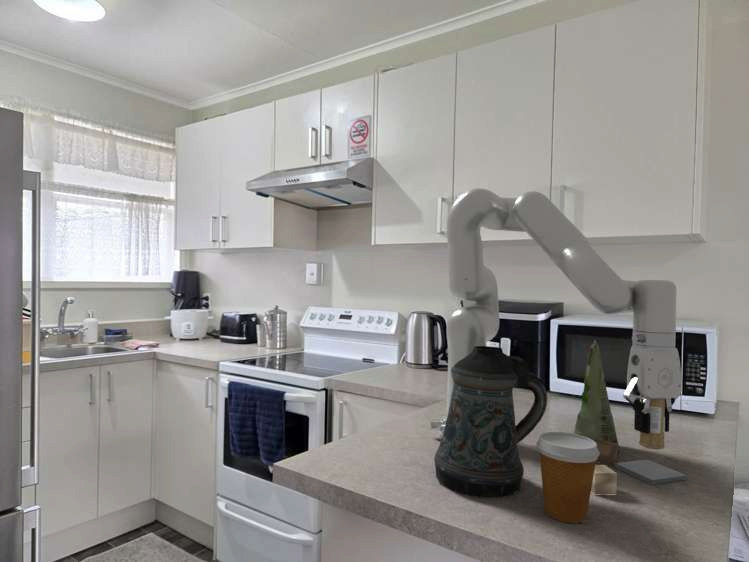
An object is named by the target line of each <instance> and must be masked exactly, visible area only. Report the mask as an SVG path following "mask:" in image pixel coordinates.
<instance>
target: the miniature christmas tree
mask: <svg viewBox="0 0 749 562" xmlns="http://www.w3.org/2000/svg"><path fill="white" fill-rule="evenodd" d="M592 342H593V343H591V345H590V347H589V349H588V350H589V351H588V355H587V360H586V371H585V376H584V378H583V391H582V393H581V396H580V398H581V404H580V405H581V406H580V409H579V412H578V414H577V419H576V421H575V426H574V430H573V434H576V435H580V436H584V437H587V438H589V439H591V440H593V441H594V440H597V439H602V440H605V441H609V442H613V443H617V453H619V451H620V445H619V440H618V437H617V431H616V426H615V422H614V417H613V413H612V409H611V405H610V404H611V403H610V401H609V394H608V390H607V385H606V381H607V380H606V377H605V374H604V369H603V364H602V363H603V362H602V357H601V350H600V348H599V344H598V341H597V340H596V339H594V340H593V341H592Z"/></svg>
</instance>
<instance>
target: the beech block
mask: <svg viewBox="0 0 749 562" xmlns="http://www.w3.org/2000/svg"><path fill="white" fill-rule="evenodd" d="M617 475H618V473H617V472H616V471H614V470H613V469H611V468H610V467H608V466H607V465H604V464H595V470H594V476H593V481H592V487H591V491H592V492H593V493H594V494H604V495H603V496H608V495H607V494H616V495H617V484H618V483H617V481H618V480H617V479H618V477H617ZM593 493H592V494H593ZM594 494H593V495H594ZM605 494H606V495H605Z"/></svg>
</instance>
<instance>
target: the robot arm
mask: <svg viewBox="0 0 749 562" xmlns="http://www.w3.org/2000/svg"><path fill="white" fill-rule="evenodd" d="M449 209H450V210H449V211H448V213H447V214H448V215H447V220H446V238H447V262H448V287H449V290H450V291H449V292H450V293H451V295H453V297H455V299H457V300H460V301H462V307H459V308H458V309H456V310H455V311H453V312H452V314H451V315H450V316H449V318H448V319H447V323H446V331H445V332H446V341H447V386H446V387H447V388H446V389H447V391H446V392H447V393H446V413H445V414H444V415H442V418H440V419H439V420H428V421H427V428H428V430H437V431H438V432H439V433H438V434H439V435H440V436H441V437H442V436H443V433H444V429H445V425H446V421H447V416H448V411H449V406H450V400H451V395H452V390H453V384H454V382H453V379H452V375H451V369H452V367H453V366H454V365H455V364H456V363H457V362H458V361H460V360H462V359H463V358H465V357H466V356H468V355H469V354H470V353H472V352H473V349H474V347H475V346H487V342H489V341H491V340H493V338H495V337H496V336H497V334H498V332H499V328H500V309H499V308H500V305H499V293H498V291H499V289H498V283H497V282H498V281H497V279H496V278H497V277H496V276H495V273H494V272H493V271H492V269H490V268H489V267H488V266H485V264H484V263H485V262H484V250H483V249H484V246H483V240H482V236H481V227H482V228H485V229H488V230H492V231H504V232H505V231H507V232H523V233H526V234H528V235H529V237H530V238H532V239H533V241H534V242H535V243H536V244H537V246H539V248H540V249H542V251H543V252H544V253H545V254H546V255H547V256H548V258H549V259H550V260H551V261H552V262H553V263H554V265H555V266H556V267H557V268H558V269H559V270H560V271H561V272H562V273H563V274H564V276H566V277H567V279H568V280H569V281H570V283H572V285H573V286H574V287H575V288H576V289H577V291H579V293H580V294H582V296H583V297H584V298H585V299H586V300H587V301H588V302H589V304H591V305H592V306H593V307H594V309H596V310H597V311H598V312H599V313H602V314H606V315H617V314H623V313H633V314H632V336H631V341H632V346H631V348H630V351H629V356H628V357H629V358H628V363H627V373H626V374H627V375H626V389H625V391H624V392H623V395H622V397H623V398H624V399H625V400H626V401H627V402H628V404H629V405H630V406H631V409H632V410H633V411H634V423H633V428H634V430H635V431H637V432H639V433H640V432H643V433H646V434H649V433H650V414H649V413H648V409H649V404H650V399H665V432H664V433H668V432H669V431H670V412H672V411H673V407H672V406H673V405H674V404H675V401H676V400H677V399H678V398H679V397H680V396H681V394H682V370H681V369H682V367H681V361H680V355H679V351H678V348H676V337H677V336H676V333H677V332H676V331H677V330H676V328H677V325H676V324H677V318H676V317H677V286H676V284H675V282H673V281H671V280H665V279H664V280H663V279H643V280H642V279H641V280H638V281H637V280H636V281H633V280H624V279H622V278H621V277H620V276H619V275H618V274H617V273H616V272H615V271H614V270H613V269H612V267H610V266H609V264H607V263H606V262H605V261H604V259H603V258H601V256H600V255H599V254H598V253H597V252H596V250H595V249H593V247H592V246H591V244H590V243H589V241H588V239H587V238H586V236H585V235H584V234H583V233H582V232H581V231H580V230H579V229H578V228H577V227H576V226H575V224H573V222H571V220H569V219H568V218H567V216H566V215H564V214H563V212H562V211H561V210H560V209H559V208H558V207H557V206H556V204H554V203H553V201H552V200H550V199H549V198H548V197H547V196H546V195H545V194H544V193H542V192H539V191H536V190H534V191H532V190H530V191H527V192H524V193H522V194H521V195H519V196H518V197H501V196H498V194H496V193H495V192H493V191H492V190H489V189H486V188H479V187H478V188H473V189H470V190H468V191H465V192H464V193H462V194H461V195H459V197H458V198H457V199H455V201H454V203H453V204H452V206H451V207H450V208H449ZM641 395H642V396H641ZM641 399H643V404H642V403H641Z"/></svg>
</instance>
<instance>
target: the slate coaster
mask: <svg viewBox="0 0 749 562" xmlns="http://www.w3.org/2000/svg"><path fill="white" fill-rule="evenodd" d="M614 468H616V469H618V470H621V471H622V470H623V471H622V472H625V473H627V474H629V475H631V474H632V476H633V475H634V476H633V477H636V478H639V479H640V478H641V479H640V480H642V479H643V480H642V481H644V480H645V482H646V483H649V484H651V485H656V484H658V483H659V484H666V483H670V482H677V481H678V482H679V481H687V480H688V475H687V474H684V473H681V472H679V471H676V470H674V469H672V468H669V467H667V466H664V465H662V464H659V463H658V462H654V461H652V460H650V459H640V460H631V461H621V462H616V463H614Z"/></svg>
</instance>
